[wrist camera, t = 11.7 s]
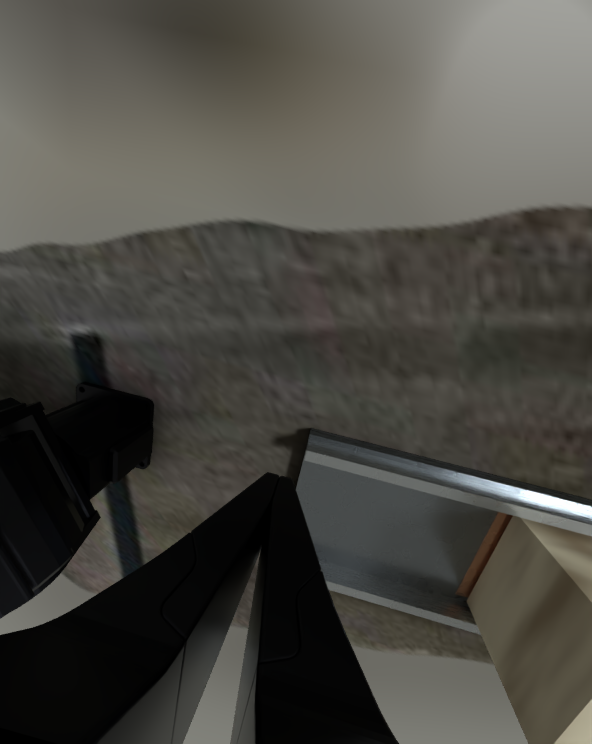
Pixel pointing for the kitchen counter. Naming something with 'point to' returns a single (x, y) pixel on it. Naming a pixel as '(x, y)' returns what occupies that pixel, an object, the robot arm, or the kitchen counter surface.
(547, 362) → the kitchen counter surface
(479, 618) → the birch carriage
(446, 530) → the graphite track
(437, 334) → the kitchen counter surface
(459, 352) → the kitchen counter surface
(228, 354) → the kitchen counter surface
